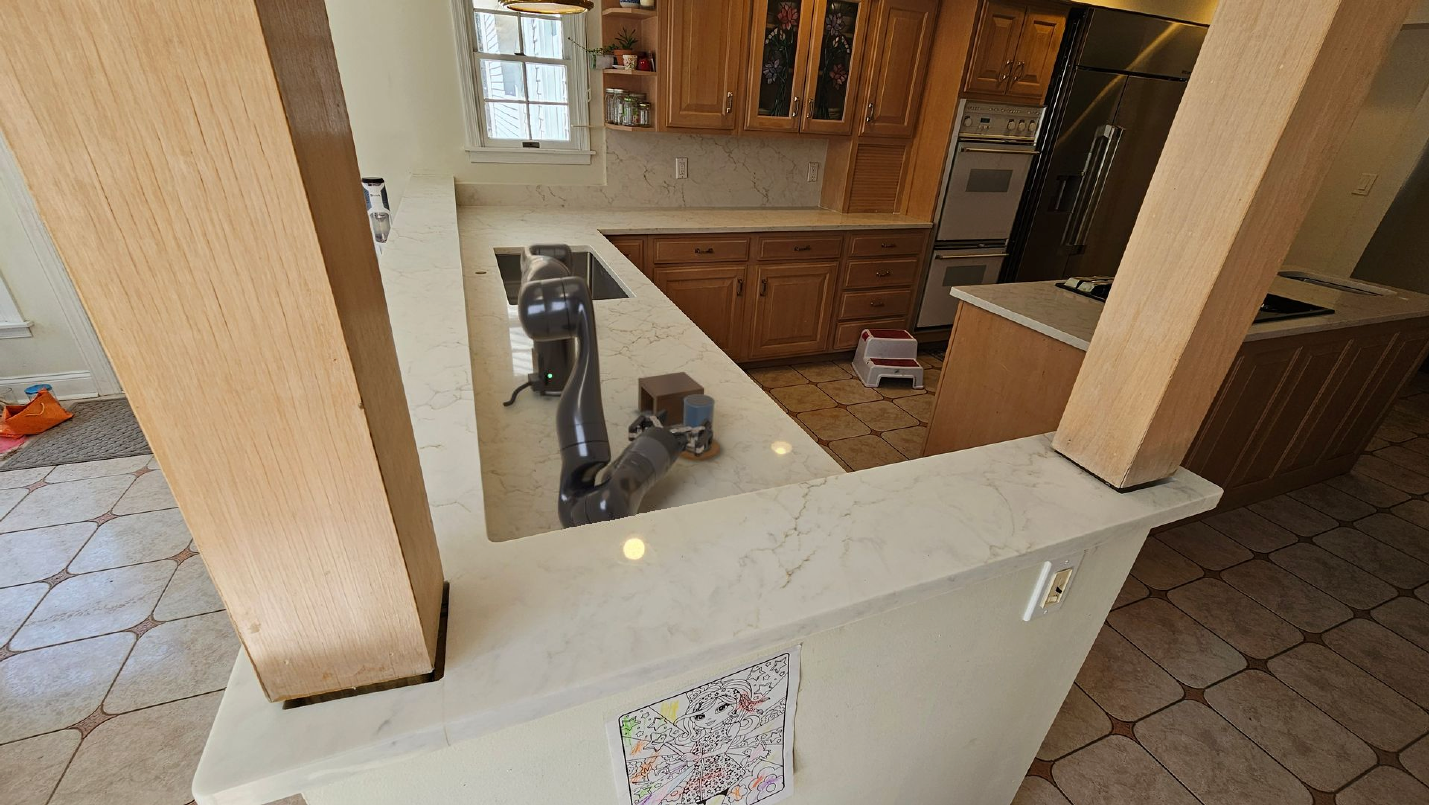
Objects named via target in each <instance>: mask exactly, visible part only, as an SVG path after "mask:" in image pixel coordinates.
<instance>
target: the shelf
mask: <svg viewBox="0 0 1429 805" xmlns="http://www.w3.org/2000/svg"><path fill="white" fill-rule="evenodd" d="M637 380H638V381H637V382H638V384H637V386H638V388H637V390H638V391H637V393H638V394H637V408H638V410H639V412H641V413H642V412H646V411H647V412H648V411H653V415H652V416H654V415H655V414H656V413H657V412H659V411H662V410H663V409H665V410H667V420H666V421H665V422H664V423H663V424H662V426H670V427H673V426H677V425H681V424H682V425H683V406H684V398H685V397H687V396H689V395H694V394H702V395H705V387H703V386H702V385H701V384H699V383H698V382H697V381H696V380H695V379H694V378H692V377H691V376H690V375H689V374H688V373H686V372H685V371H679V372H672V373H665V374H659V375H653V376H645V377H639V378H638V379H637Z"/></svg>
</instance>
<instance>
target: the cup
mask: <svg viewBox="0 0 1429 805" xmlns="http://www.w3.org/2000/svg"><path fill="white" fill-rule="evenodd" d="M715 403H716V400H715V398H713V397H712V396H710V395H706V394H704V395H702V394H694V395H689V396H687V397H685V398H684V406H683V423H682V428H685V427H689V426H690V427H692V428H695V427H699V425H700V424H701V423H702V422H703V421H704V420H705V418H707V419H710V422H711V430H712V431H713V432H714V420H715ZM685 436H686V438H687V433H686V434H685ZM694 437H698V433H695V435H694ZM711 448H712V445H711V446H710V447H709V448H708V449H707V450H706V451H705V452H707V451H709V450H710V449H711ZM686 451H688V452H691V453H694V452H693V451H689V450H686ZM705 452H704V453H705Z"/></svg>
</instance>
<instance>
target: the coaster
mask: <svg viewBox="0 0 1429 805" xmlns="http://www.w3.org/2000/svg"><path fill="white" fill-rule="evenodd" d="M719 451H720V444H719V443H718V441H716V440H715V439H713V444H712V448H711V449H710V450H709V451H707V452H705V453H703V454H702V455H701V456H700V457H695V456H694V453H691V452H688V451H685V452H682V453H681V454H680V455H679V456H680V457H682V458H686V459H689V460H698V461H699V460H706V459H709V458H713V457H714V456H716V455H717V454H718V453H719Z"/></svg>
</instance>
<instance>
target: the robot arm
mask: <svg viewBox="0 0 1429 805" xmlns="http://www.w3.org/2000/svg"><path fill="white" fill-rule="evenodd" d="M573 256H574V255H573V251H572V248H571V247H570V246H569V245H568V244H567V243H547V242H546V243H541V242H539V243H529V244H526V245H525V246H524V247H523V249H522V250H521V253H520V259H519V260H520V261H519V263H520V272H521V277H520V278H521V279H520V287H519V291H518V295H517V313H518V319H519V323H520V325H521V329H522V330H523V332H524V333H525V335H526V336H527V337H528V338H529V339H530V340H532V346H533V347H531V350H530V351H531V362H532V372H531V373H527V382H525V383H523V384H521V385H520V386H518V387H517V388H515V389H514V391H513V392H512V393H511V397H510V399H509V400H508V401H504V402H502V405H503V408H506V407H510V406H511V405H513V404H514V403H515V402H516V399H517V396H518V394H520V393H521V392H522V391H523V390H525V389H526V388H529V387H530V388H531V391H532V392H538V394H539V396H560V397H559V399H558V402H557V406H556V411H555V430H556V435H557V441H558V447H559V452H560V459H561V468H560V475H559V487H558V498H557V516H558V521H559V523H560V526H561V528H562V530H563V529H566V528H569V527H577V526H581V525H585V524H592V523H597V522H601V521H610V520H615V519H620V518H624V517H628V516H635V515H637V514H638V510H639V508H640V505H641V503H642V499H643V497H644V496H645V495H646V494H647V493H648V492H649V491H650V489H651V488H653V486H654V485H656V484H657V483H658V482H659V481H660V480H661V479H663V477H664V476H665V475H666V474H667V472H668V471H669V470H670V469H671V468H672V466H674V464H675V463H676V462H677V461H678V459H679V457H680V456H681V455H680V454H681V453H682V452H685V451H686V450H689V451H693V452H694V456H695V457H700V456H701V455H702V454H703V453H704V452H705V451H706V450H707V449H708V448H709V447H710V446H711V445H712V444H713V440H714V430H713V431H712V430H711V422H710V419H707V418H705V420H704V421H703V422H702V423H701V424H700V425H699V427H695V428H692V427H690V426H689V427H685V428H683V427H681V428H678V427H673V426H662V424H663V423H664V422H665V421H666V420H667V410H665V409H663V410H662V411H659V412H657V413H656V414H655V415H654V416H653V415H650V416H649V417H647V416H646V415H645V414H640V415H639V416H637V418H635V420H634V421H633V422H632V423H631V424H630V425H629V426H628V428H627V429H628V432H627V433H628V434H627V435H628V436H627V437H628V441H629V442H630V443H629V444H628V445H626V447H625V448H623V450H622V451H621V453H620V454H619V456H617V457H616V458H615V459H614V460H613V461H612V451H611V445H610V438H609V434H608V429H607V424H606V418H605V413H604V406H603V397H602V385H601V366H600V353H599V342H598V331H597V322H596V321H597V320H596V313H595V307H594V301H593V296H592V292H591V288H590V286H589V284H588V282H587V280H586V279H584V278H583V277H581V276H574V257H573ZM576 341H577V350H576ZM686 433H687V438H686V436H685V434H686ZM695 433H698V437H694V435H695ZM611 461H612V462H611ZM603 469H605V470H604V471H603V472H602V475H601V477H600V483H599V484H596V479H597V476H598V474H599V473H600V472H601V471H602V470H603ZM635 517H636V516H635Z"/></svg>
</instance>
